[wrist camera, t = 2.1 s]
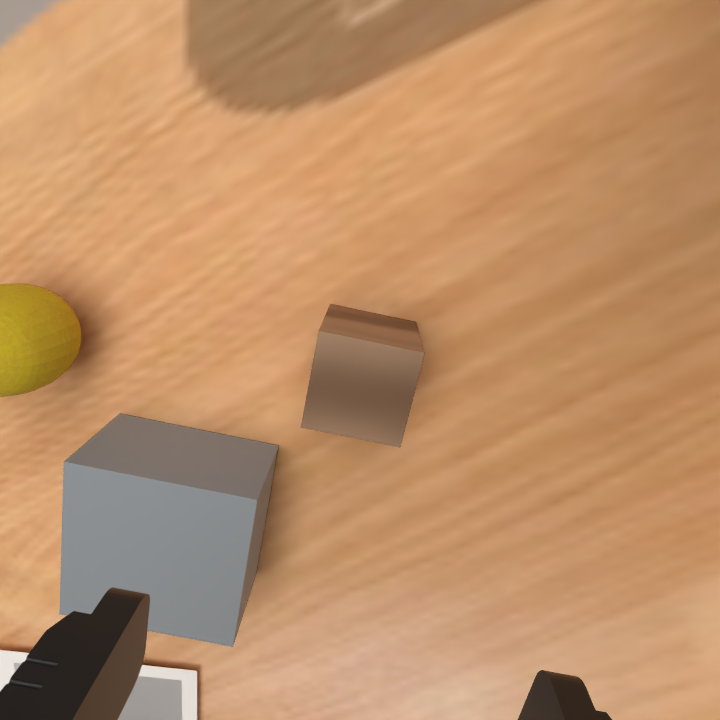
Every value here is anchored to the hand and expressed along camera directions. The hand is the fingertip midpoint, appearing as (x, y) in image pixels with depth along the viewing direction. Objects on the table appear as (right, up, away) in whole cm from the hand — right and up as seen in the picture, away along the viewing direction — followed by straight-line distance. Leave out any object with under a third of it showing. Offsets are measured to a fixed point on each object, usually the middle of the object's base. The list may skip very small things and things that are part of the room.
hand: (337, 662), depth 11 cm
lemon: (-17, +9, +20) cm, 28 cm away
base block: (-11, -3, +23) cm, 26 cm away
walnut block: (+1, +7, +20) cm, 21 cm away
